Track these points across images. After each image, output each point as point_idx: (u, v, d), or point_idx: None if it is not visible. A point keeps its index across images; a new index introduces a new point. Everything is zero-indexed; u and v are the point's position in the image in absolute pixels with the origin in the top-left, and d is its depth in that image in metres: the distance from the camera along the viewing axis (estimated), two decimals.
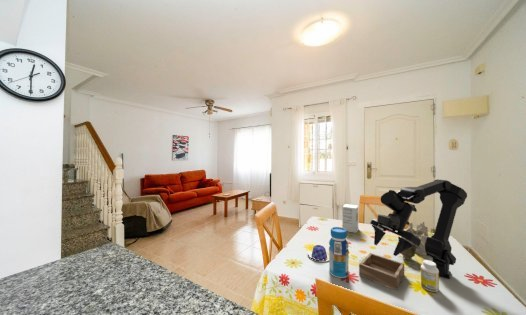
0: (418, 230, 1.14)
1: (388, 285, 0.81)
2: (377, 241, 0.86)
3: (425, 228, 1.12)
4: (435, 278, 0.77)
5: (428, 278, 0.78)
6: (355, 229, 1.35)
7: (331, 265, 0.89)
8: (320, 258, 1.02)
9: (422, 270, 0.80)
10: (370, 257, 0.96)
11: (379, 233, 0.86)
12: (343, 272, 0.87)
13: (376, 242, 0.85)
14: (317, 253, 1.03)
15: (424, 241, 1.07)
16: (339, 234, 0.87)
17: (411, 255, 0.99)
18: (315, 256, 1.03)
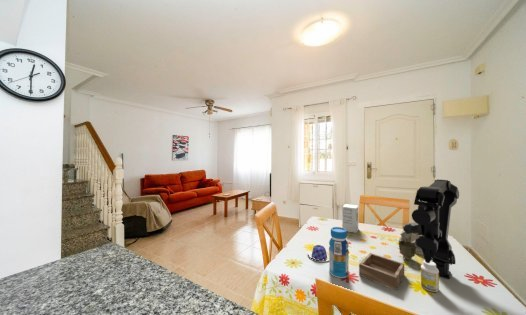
0: None
1: (388, 285, 0.81)
2: None
3: None
4: (435, 278, 0.77)
5: (428, 278, 0.78)
6: (355, 229, 1.35)
7: (331, 265, 0.89)
8: (320, 258, 1.02)
9: (422, 270, 0.80)
10: (370, 257, 0.96)
11: None
12: (343, 272, 0.87)
13: None
14: (317, 253, 1.03)
15: None
16: (339, 234, 0.87)
17: (411, 255, 0.99)
18: (315, 256, 1.03)
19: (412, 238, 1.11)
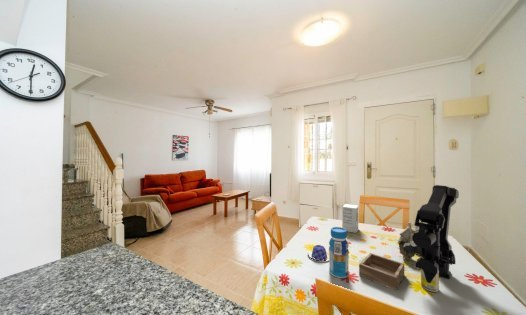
0: (417, 230, 1.14)
1: (388, 285, 0.81)
2: None
3: None
4: (435, 278, 0.77)
5: None
6: (355, 229, 1.35)
7: (331, 265, 0.89)
8: (320, 258, 1.02)
9: (422, 270, 0.80)
10: (370, 257, 0.96)
11: None
12: (343, 272, 0.87)
13: None
14: (317, 253, 1.03)
15: None
16: (339, 234, 0.87)
17: (411, 255, 0.99)
18: (315, 256, 1.03)
19: (411, 238, 1.11)
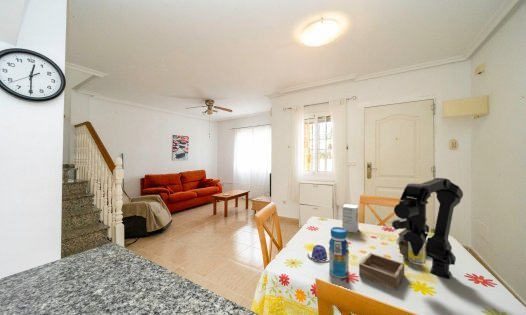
0: None
1: (388, 285, 0.81)
2: None
3: None
4: (422, 251, 0.79)
5: None
6: (355, 229, 1.35)
7: (331, 265, 0.89)
8: (320, 258, 1.02)
9: (409, 244, 0.82)
10: (370, 257, 0.96)
11: None
12: (343, 272, 0.87)
13: None
14: (317, 253, 1.03)
15: None
16: (339, 234, 0.87)
17: None
18: (315, 256, 1.03)
19: None
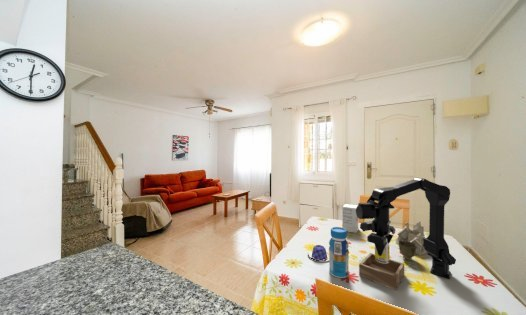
0: (414, 230, 1.14)
1: (388, 285, 0.81)
2: None
3: (421, 228, 1.13)
4: (386, 251, 0.86)
5: None
6: (355, 229, 1.35)
7: (331, 265, 0.89)
8: (320, 258, 1.02)
9: None
10: (370, 257, 0.96)
11: None
12: (343, 272, 0.87)
13: None
14: (317, 253, 1.03)
15: (421, 241, 1.08)
16: (339, 234, 0.87)
17: (411, 255, 0.99)
18: (315, 256, 1.03)
19: (409, 238, 1.11)
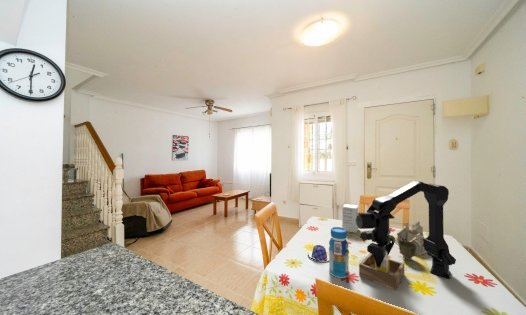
0: (414, 230, 1.14)
1: (388, 285, 0.81)
2: None
3: (420, 227, 1.13)
4: (386, 264, 0.86)
5: None
6: (355, 229, 1.35)
7: (331, 265, 0.89)
8: (320, 258, 1.02)
9: None
10: (370, 257, 0.96)
11: None
12: (343, 272, 0.87)
13: None
14: (317, 253, 1.03)
15: (420, 240, 1.08)
16: (339, 234, 0.87)
17: (411, 255, 0.99)
18: (315, 256, 1.03)
19: (408, 238, 1.12)
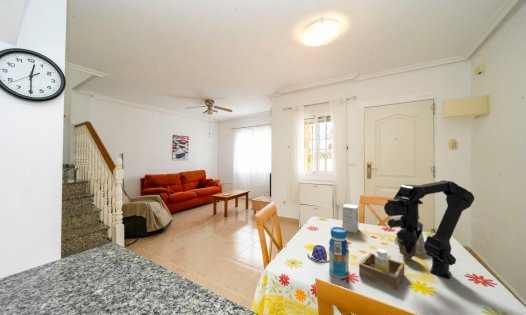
0: None
1: (388, 285, 0.81)
2: None
3: None
4: (386, 264, 0.86)
5: (379, 264, 0.87)
6: (355, 229, 1.35)
7: (331, 265, 0.89)
8: (319, 258, 1.02)
9: (375, 257, 0.89)
10: (370, 257, 0.96)
11: None
12: (343, 272, 0.87)
13: None
14: (317, 253, 1.03)
15: (419, 240, 1.08)
16: (339, 234, 0.87)
17: (411, 255, 0.99)
18: (315, 256, 1.03)
19: None
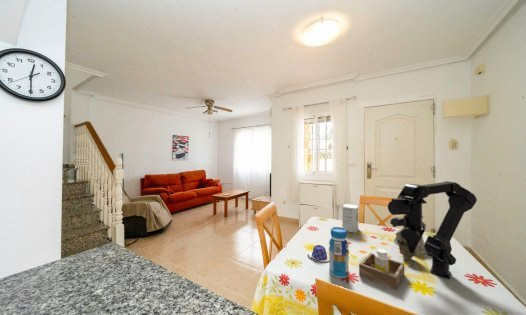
0: None
1: (388, 285, 0.81)
2: None
3: None
4: (386, 264, 0.86)
5: (379, 264, 0.87)
6: (355, 229, 1.35)
7: (331, 265, 0.89)
8: (319, 258, 1.02)
9: (375, 257, 0.89)
10: (370, 257, 0.96)
11: None
12: (343, 272, 0.87)
13: None
14: (316, 253, 1.03)
15: None
16: (339, 234, 0.87)
17: (411, 255, 0.99)
18: (314, 256, 1.03)
19: None
